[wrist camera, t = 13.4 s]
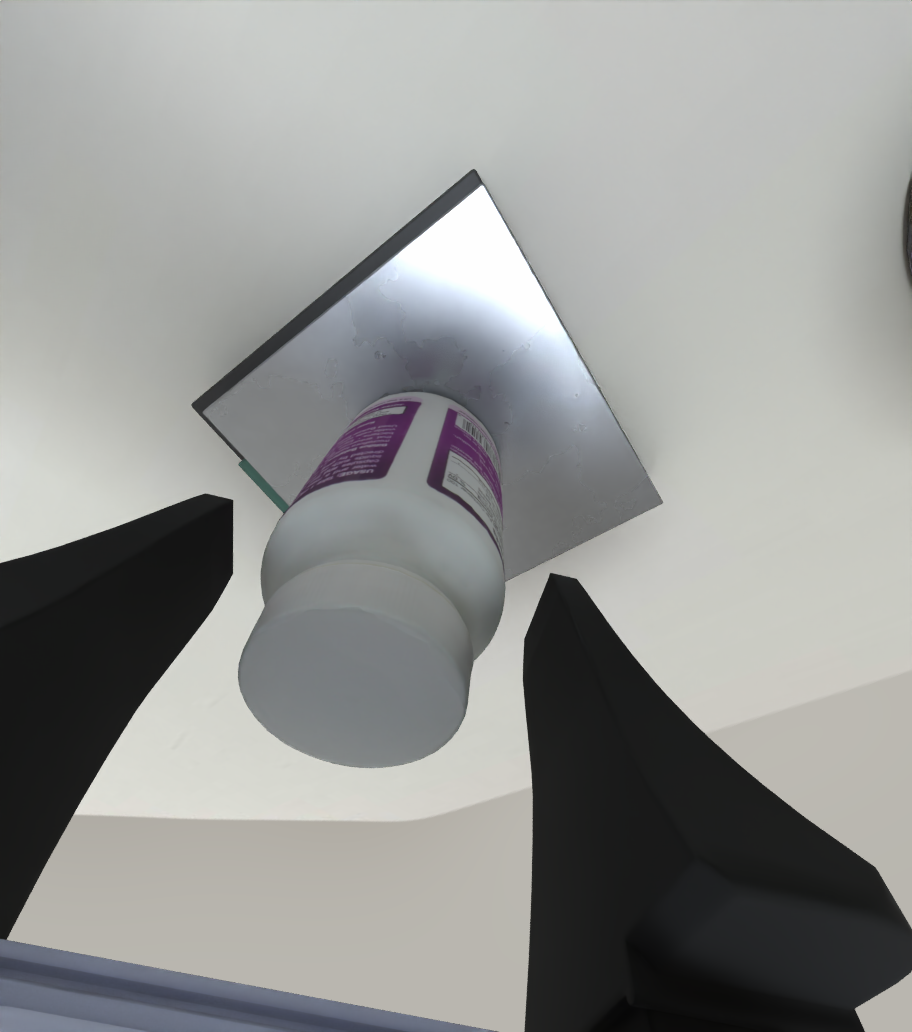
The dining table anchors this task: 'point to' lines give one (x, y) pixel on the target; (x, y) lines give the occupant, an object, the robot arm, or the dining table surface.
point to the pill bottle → (381, 588)
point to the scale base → (326, 302)
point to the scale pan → (452, 384)
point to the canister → (910, 234)
